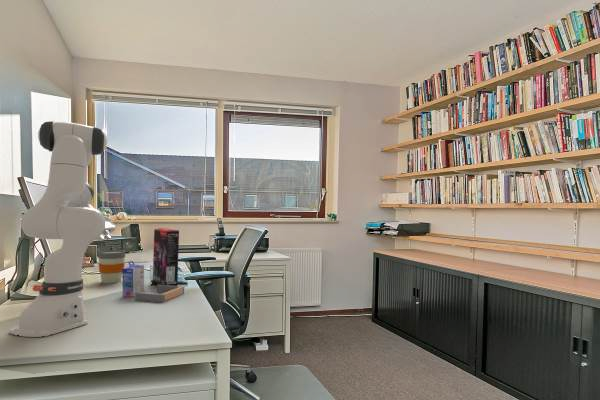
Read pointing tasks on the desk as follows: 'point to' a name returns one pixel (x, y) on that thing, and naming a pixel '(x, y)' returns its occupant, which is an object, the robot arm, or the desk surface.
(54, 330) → the robot arm
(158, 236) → the graphics card box
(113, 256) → the reusable coffee cup
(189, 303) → the desk surface
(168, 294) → the u-shaped bracket
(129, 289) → the ink cartridge box
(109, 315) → the desk surface
